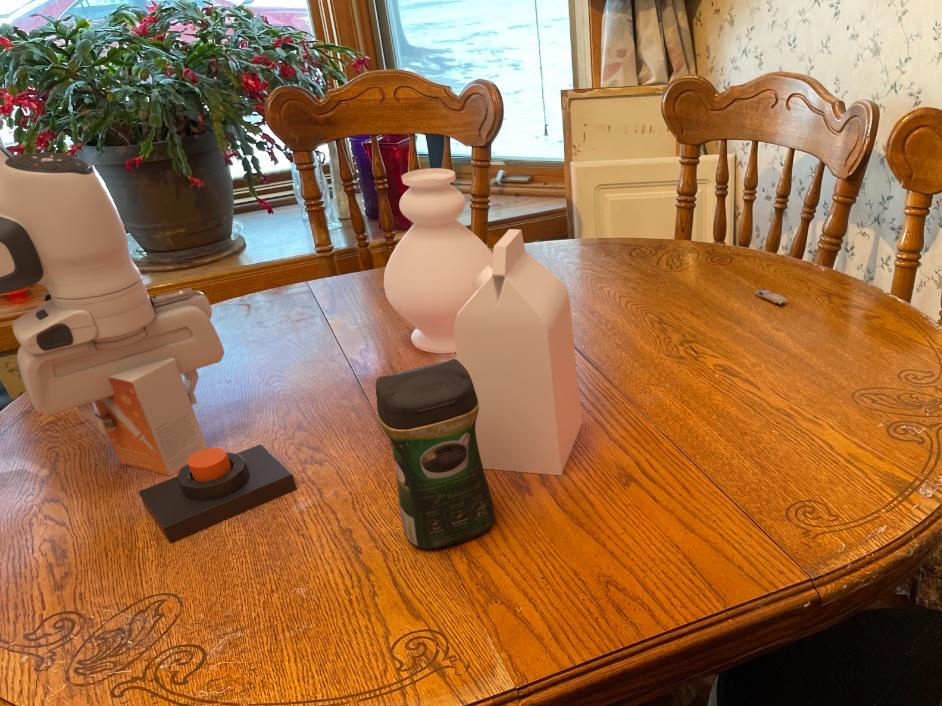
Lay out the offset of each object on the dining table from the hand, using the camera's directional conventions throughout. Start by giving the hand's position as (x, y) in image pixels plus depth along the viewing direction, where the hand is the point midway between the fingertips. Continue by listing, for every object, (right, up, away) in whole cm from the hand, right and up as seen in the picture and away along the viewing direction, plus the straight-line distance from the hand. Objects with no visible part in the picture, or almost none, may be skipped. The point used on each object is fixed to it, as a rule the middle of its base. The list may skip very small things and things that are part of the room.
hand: (149, 417), depth 93 cm
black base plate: (+11, -9, -4) cm, 15 cm away
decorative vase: (+30, +14, +31) cm, 46 cm away
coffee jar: (+38, -12, -9) cm, 41 cm away
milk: (+45, -3, +4) cm, 45 cm away
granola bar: (+83, +22, +40) cm, 95 cm away
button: (+11, -6, -6) cm, 14 cm away
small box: (0, -5, +3) cm, 6 cm away
